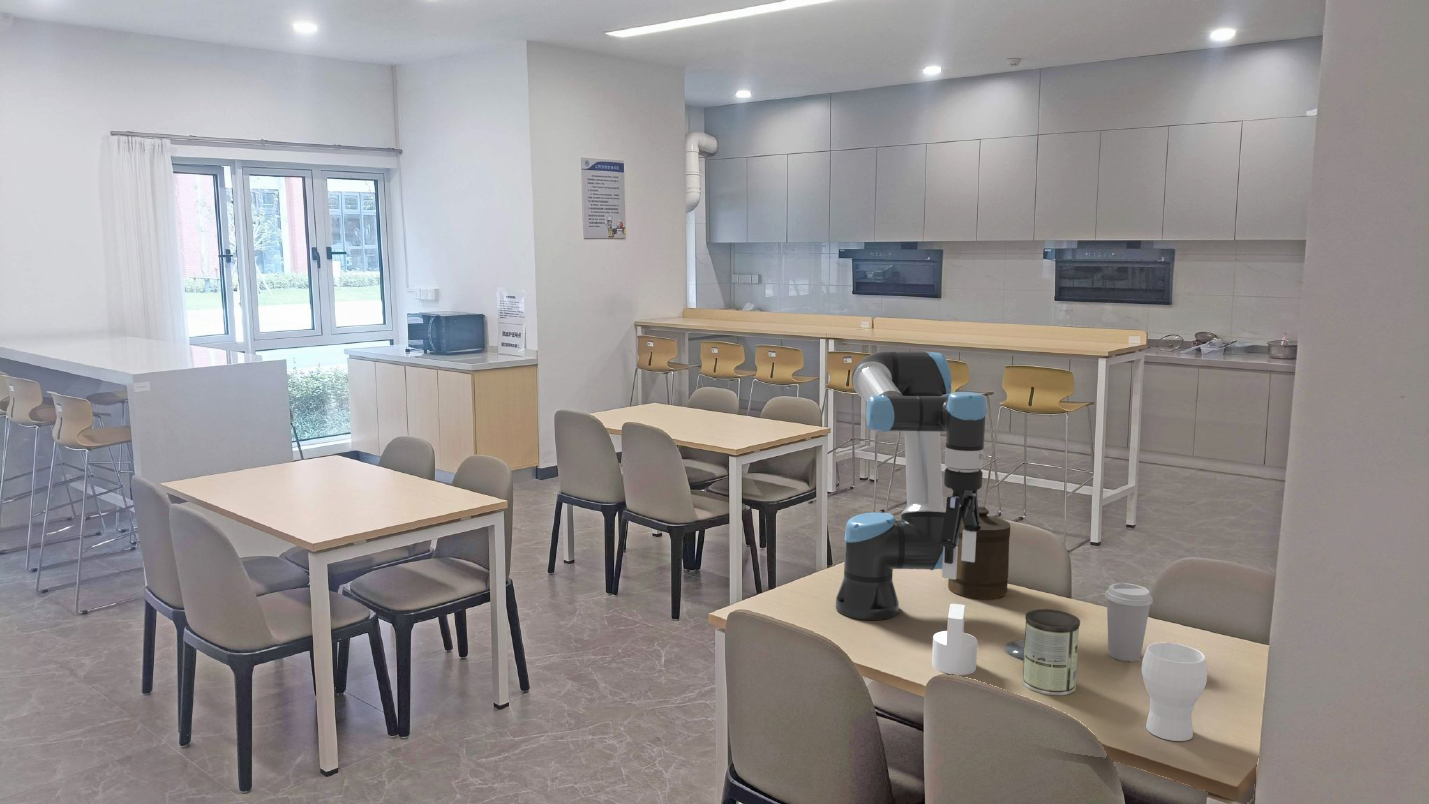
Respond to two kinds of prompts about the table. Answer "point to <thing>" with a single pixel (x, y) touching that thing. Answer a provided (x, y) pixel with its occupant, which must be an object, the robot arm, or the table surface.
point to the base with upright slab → (954, 645)
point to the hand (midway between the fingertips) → (958, 569)
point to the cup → (1173, 688)
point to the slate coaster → (1016, 649)
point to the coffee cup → (1127, 620)
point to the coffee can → (1050, 651)
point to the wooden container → (984, 561)
